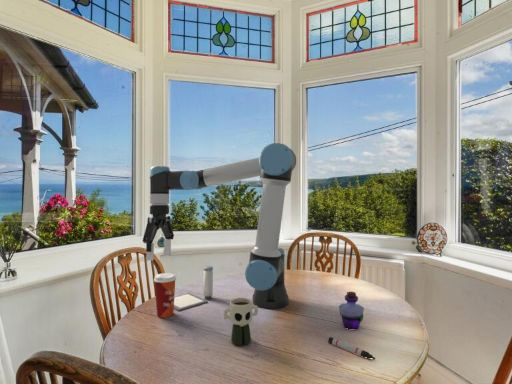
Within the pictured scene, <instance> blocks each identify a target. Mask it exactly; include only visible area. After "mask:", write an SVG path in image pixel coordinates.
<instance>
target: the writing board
mask: <svg viewBox="0 0 512 384" xmlns="http://www.w3.org/2000/svg"><path fill="white" fill-rule="evenodd" d="M207 303H209V300H207V299H205V298H202V297H199V296H197V295H195V294H193V293H190V292H188V293H185V294H181V295H180V294H179V295H177V296H174V311H177V312H180V311H184V310H187V309H190V308H194V307H198V306H200V305H204V304H207Z"/></svg>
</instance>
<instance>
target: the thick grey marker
mask: <svg viewBox="0 0 512 384" xmlns="http://www.w3.org/2000/svg"><path fill="white" fill-rule="evenodd" d="M202 269H203V271H202V273H203V274H202V275H203V279H202V280H203V281H202V283H203V286H202V287H203V288H202V289H203V293H202V294H203V297H204V299H205V300H207V301H209V300H212V297H213V295H214V292H213V291H214V289H213V286H214V284H213V283H214V280H213V278H214V277H213V276H214V275H213V274H214V273H213V270H214V268H213V266H211V265H210V266H209V265H206V266H203V268H202Z"/></svg>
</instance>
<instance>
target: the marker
mask: <svg viewBox="0 0 512 384" xmlns="http://www.w3.org/2000/svg"><path fill="white" fill-rule="evenodd" d="M327 342H328V344H329V345H330V344H331V345H332V344H333V345H332V346H334V345H335V347H337V346H338V347H337V348H339V347H340V348H339V349H341V348H343V349H342V350H344V349H345V351H346V350H348V351H350V352H349V353H351V352H353V353H356V354H358V355H360V356H363V357H367V359H368V358H373V359H372V360H375V359H376V357H374V355H372V354H370V353H369V351H366V350H364V349H363V348H359V347H357V346H355V345H352V344H350V343H346V342H344V341H343V340H340V339H337V338H334V337H332V336H329V337H328V339H327ZM348 351H347V352H348ZM353 353H352V354H353ZM356 354H355V355H356ZM358 355H357V356H358ZM360 356H359V357H360ZM363 357H362V358H363Z"/></svg>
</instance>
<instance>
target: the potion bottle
mask: <svg viewBox="0 0 512 384" xmlns="http://www.w3.org/2000/svg"><path fill="white" fill-rule="evenodd" d="M344 300H345V301H346V302H344V303H340V305H338V311H339V315H340V317H341V320H342V327H343V326H344V327H345V328H348V329H347V330H349V329H358V327H360V324H361V322H363V319H364V316H365V315H364V311H365V307H364V306H362V305H360V304H357V302H358V300H359V296H357V293H356V292H355V291H346V294H345V296H344ZM344 327H343V328H344ZM345 328H344V329H345ZM358 330H359V329H358Z"/></svg>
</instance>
